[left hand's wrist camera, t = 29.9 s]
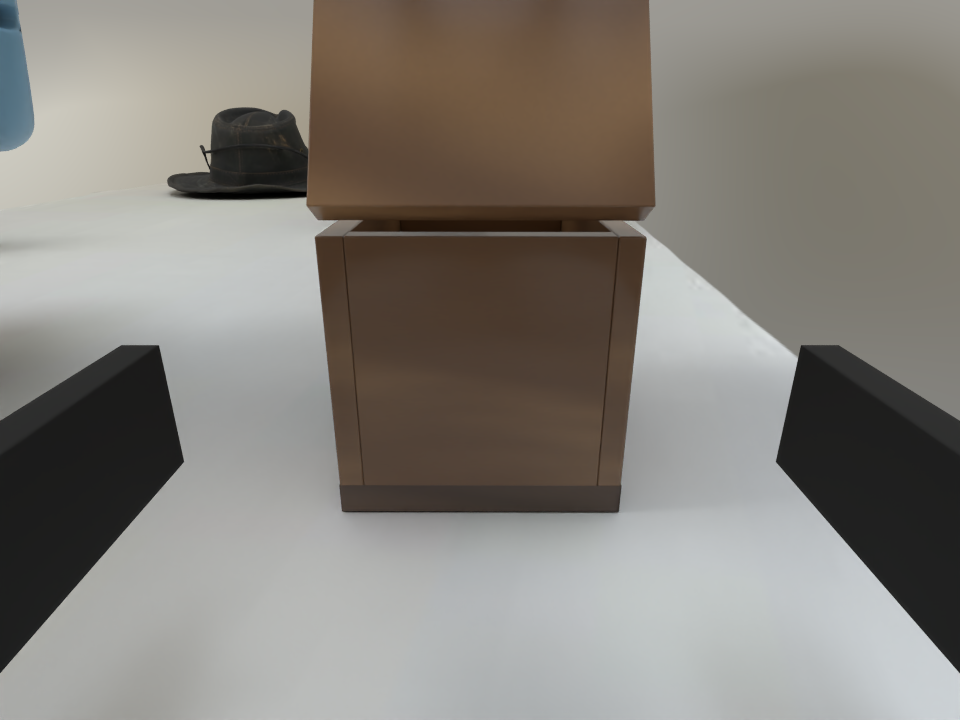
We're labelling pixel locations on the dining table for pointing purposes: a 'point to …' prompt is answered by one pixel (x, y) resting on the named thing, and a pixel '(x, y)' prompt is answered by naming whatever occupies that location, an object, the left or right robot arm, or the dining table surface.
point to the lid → (481, 110)
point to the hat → (251, 155)
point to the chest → (480, 361)
